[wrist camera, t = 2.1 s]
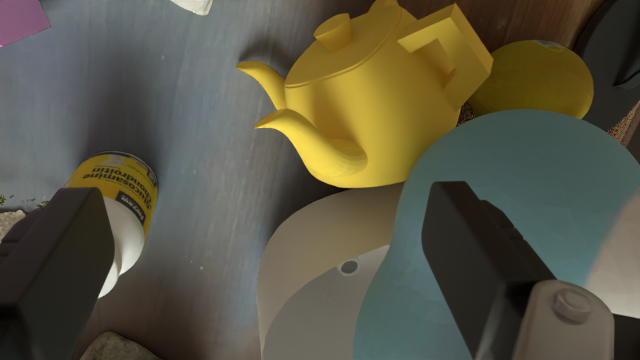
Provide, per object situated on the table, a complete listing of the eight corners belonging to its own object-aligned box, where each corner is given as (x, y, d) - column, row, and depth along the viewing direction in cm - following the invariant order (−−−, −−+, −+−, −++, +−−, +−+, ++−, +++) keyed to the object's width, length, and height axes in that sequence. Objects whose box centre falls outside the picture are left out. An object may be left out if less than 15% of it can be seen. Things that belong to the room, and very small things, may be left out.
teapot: (297, 155, 38) (230, 60, 33) (427, 71, 37) (379, -40, 32) (342, 247, 26) (248, 121, 21) (533, 126, 26) (483, -35, 20)
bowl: (238, 182, 38) (244, 266, 27) (445, 152, 40) (521, 219, 30) (265, 343, 47) (277, 452, 37) (431, 310, 50) (486, 403, 39)
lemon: (568, 53, 38) (645, 75, 31) (523, 133, 41) (584, 169, 34) (469, 11, 35) (531, 24, 28) (428, 102, 38) (474, 134, 31)
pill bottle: (176, 189, 37) (158, 277, 27) (116, 230, 38) (77, 330, 27) (119, 132, 34) (75, 206, 24) (56, 177, 34) (-14, 268, 24)
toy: (650, 889, 12) (1003, 188, 7) (237, 579, 18) (272, 90, 13) (586, 386, 32) (665, 118, 27) (403, 321, 38) (441, 93, 34)
